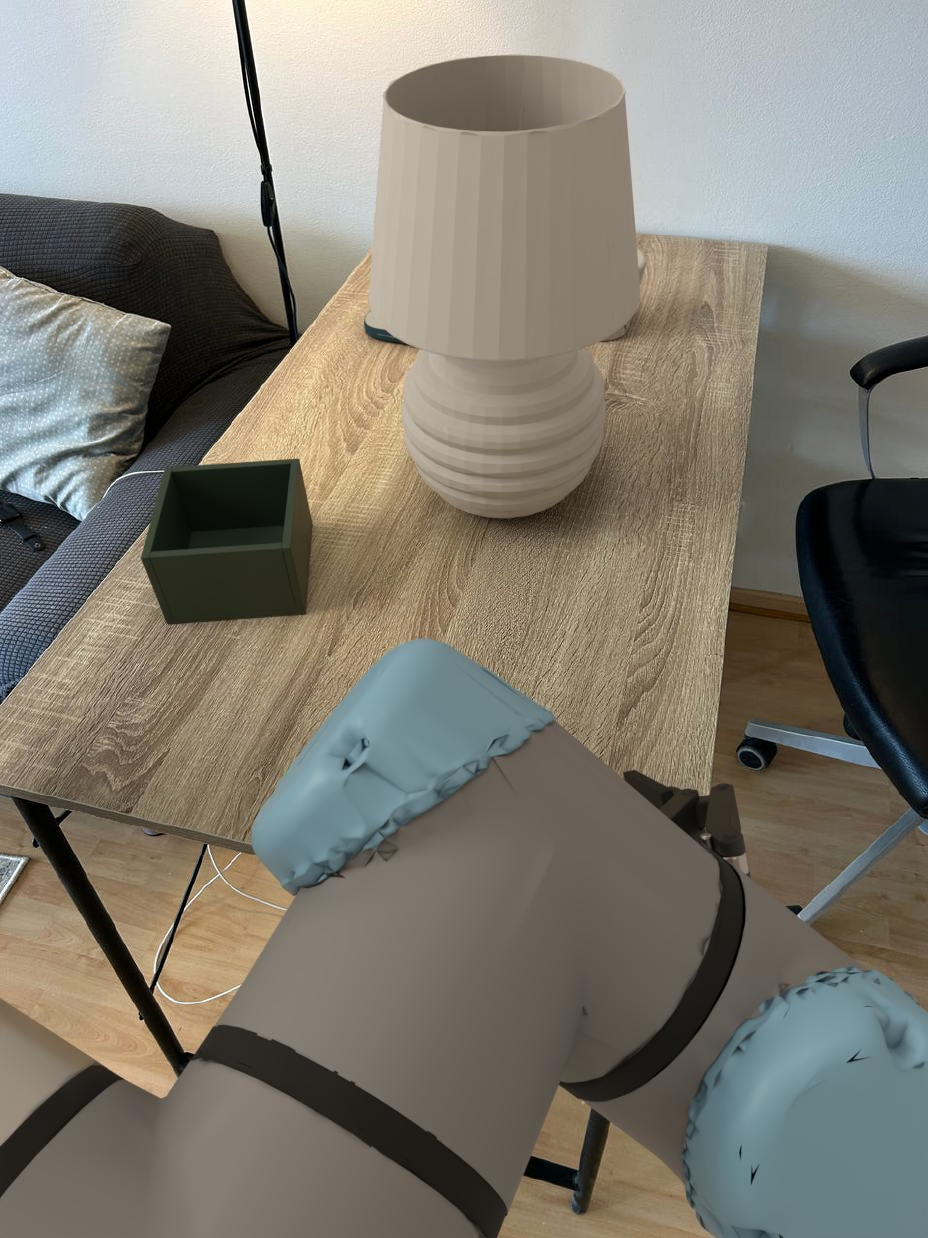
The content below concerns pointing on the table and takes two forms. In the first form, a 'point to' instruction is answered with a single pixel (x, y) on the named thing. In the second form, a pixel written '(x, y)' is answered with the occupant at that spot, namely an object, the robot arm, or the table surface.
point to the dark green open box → (230, 541)
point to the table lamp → (504, 269)
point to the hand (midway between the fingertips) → (529, 815)
